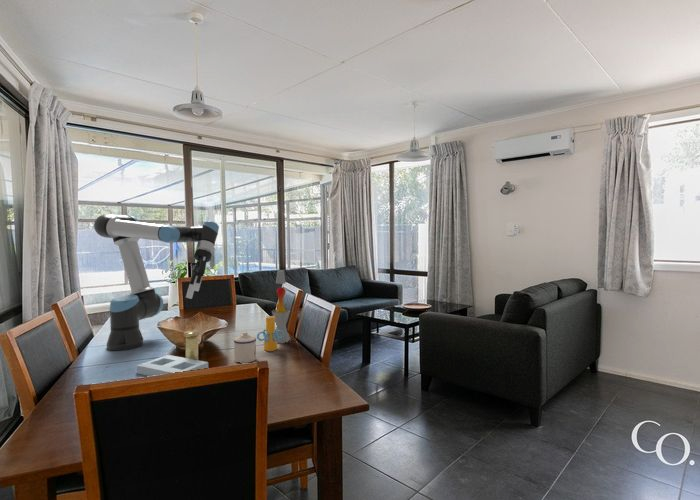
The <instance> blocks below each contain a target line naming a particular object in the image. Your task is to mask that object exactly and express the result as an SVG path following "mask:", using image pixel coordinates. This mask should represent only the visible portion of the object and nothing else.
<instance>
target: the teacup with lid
mask: <svg viewBox="0 0 700 500" xmlns="http://www.w3.org/2000/svg"><path fill="white" fill-rule="evenodd" d="M256 341H257V337H256V336H255V335H254V336H253V335H251V334H248V332H247V331H244V332H242V334H240V335H239V336H237V337H236V336H235V338H234V339H233V342H234V345H233V346H234V361H235V362H236V363H237V362H240V363H239V364H247V363H252V362H254V361H256V359H257V352H256V351H257V348H256V346H257V345H256V343H257V342H256Z"/></svg>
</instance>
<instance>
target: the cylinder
mask: <svg viewBox="0 0 700 500" xmlns="http://www.w3.org/2000/svg"><path fill="white" fill-rule="evenodd" d="M277 332H282V336H281V337H279V336H278V333H277ZM260 334H262V336H263V338H260ZM276 335H277V336H276ZM283 336H284V332H283V331H282V330H277V331H276V323H275V316H273V315H268V316H266V317H265V329H263V331H259V332H257V335H256V340H259V342H263V350H264V351H266V352H274V351H276V350H277V349H278V343H277V341H278V339H281V338H283ZM276 338H277V339H276Z"/></svg>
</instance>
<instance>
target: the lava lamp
mask: <svg viewBox="0 0 700 500" xmlns="http://www.w3.org/2000/svg"><path fill="white" fill-rule="evenodd" d="M275 278H276V280H275V284H278V285H279V284H280V285H282V284H286V283H287V282H286V281H287V280H286V277H285V272H284V270H279V269H278V270H277V272H276V277H275ZM276 294H277V298H278V302H277V303H276V304H275V307H276V309H273V310H271V314H272V316H275V329H276V331H277V330H282V331H283V332H284V336H283V338H281V339H278V341H277V344H286V343H289V342H290V341H291V338H290V336H289V333H288V330H287V327H286V325H287V322H288V319H289V316H290V313H291V310H290V309H287V308H286V309H285V307H284V306H285V305H284V297H285V294H286V289H285V288H284V287H282V286H281V287H278V288H277V289H276ZM277 333H278V336H279V337H281V336H282V332H277ZM276 336H277V335H276ZM276 339H277V338H276ZM289 340H290V341H289ZM288 341H289V342H288ZM285 342H286V343H285Z"/></svg>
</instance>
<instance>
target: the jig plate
mask: <svg viewBox="0 0 700 500" xmlns="http://www.w3.org/2000/svg"><path fill="white" fill-rule="evenodd" d="M204 368H208V369H209V362H208V361H204V360H199V359H198V360H194V359H188V358H186V357H182V356H177V355H176V356H175V355H170V354H167V355H164V356H161V357H158V358H155V359H152V360H149V361H146V362H143V363H139V364H136V374H139V375H144V376H149V377H151V376H150V375H160V374H168V373H175V372H183V371H190V370H197V369H204Z"/></svg>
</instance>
